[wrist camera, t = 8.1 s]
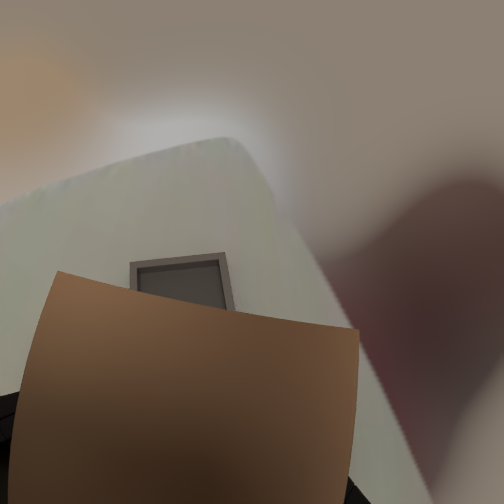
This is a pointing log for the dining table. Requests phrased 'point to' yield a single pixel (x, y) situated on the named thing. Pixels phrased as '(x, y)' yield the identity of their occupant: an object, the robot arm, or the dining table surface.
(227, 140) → the dining table surface
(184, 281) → the tray
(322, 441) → the walnut block
